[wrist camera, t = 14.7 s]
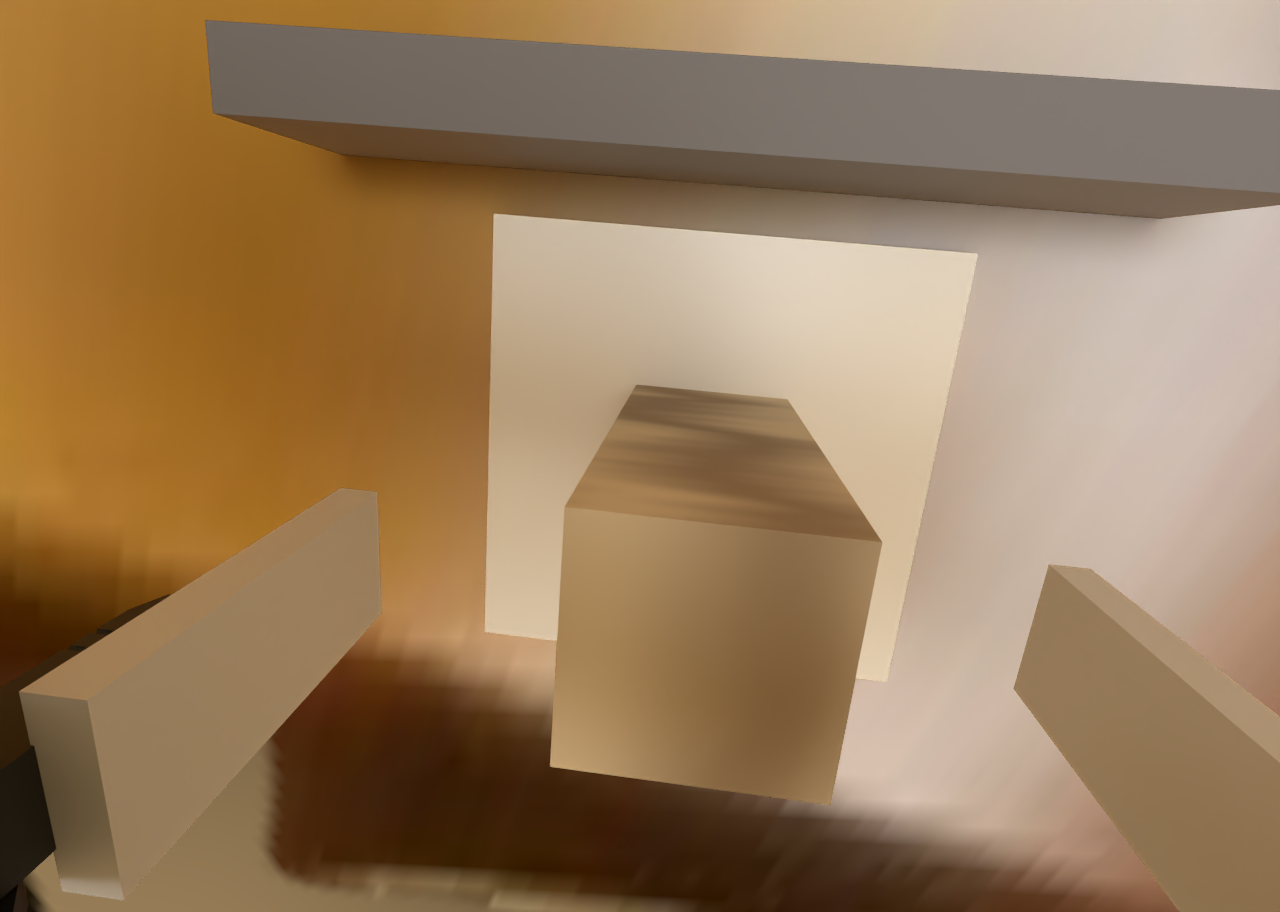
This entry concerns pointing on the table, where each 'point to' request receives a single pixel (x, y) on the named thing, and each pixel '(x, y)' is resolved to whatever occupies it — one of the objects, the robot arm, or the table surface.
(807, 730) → the letter block
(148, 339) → the table surface
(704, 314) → the mat
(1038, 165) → the grey plank
